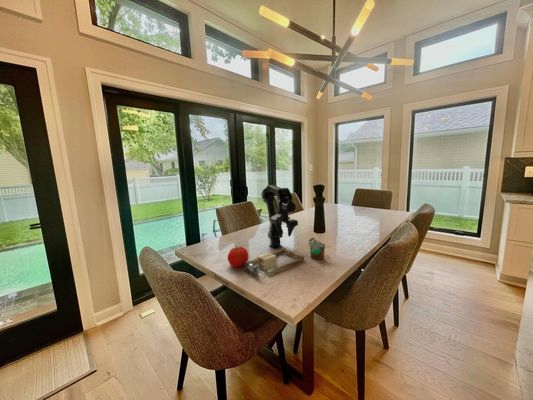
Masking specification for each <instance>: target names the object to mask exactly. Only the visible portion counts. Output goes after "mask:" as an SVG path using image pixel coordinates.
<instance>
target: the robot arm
mask: <svg viewBox="0 0 533 400" xmlns="http://www.w3.org/2000/svg"><path fill="white" fill-rule="evenodd" d="M275 197H277V201H278V202H277V203H278V204H277V205H278V210H276V209H275V204H274V201H275ZM261 198H262V201H263V202H264V203H265V204H266V207H267V213H268V217H269V222H270V226H269V228H268V229H269V230H268V233H267V237H268V239H269V240H270V244H269V245H268V247H270V248H273V249H278V248H282V247H283V245H282V244H281V239H282V238H283V236H284V235H283V234H284V231H283V228H282V225H283V223H284V224H285V225H286V226H285V227H286V228H287V235H288V237H291V235H292V233H293V231H294V229H295V227H297V226H298V225H299V221H298V220H296V219H294V218H293V219H291V217H290V216H289V214H290V213H293V212H295V210H296V209H297V208H296V207H297V206H296V204H295V203H294V202H293V196H292V193H291V190H290V189H289V188H288V187H279V186H277V185H275V184H268V185H266V187H264V188H263V189H262V192H261Z"/></svg>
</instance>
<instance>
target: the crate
mask: <svg viewBox="0 0 533 400" xmlns="http://www.w3.org/2000/svg"><path fill="white" fill-rule="evenodd" d="M272 253H273V252H266V253H263V254H260V255H257V258H258V264H257V265H258V266H260V268H259V269H261V270H263V272H264V271H268V270H267V269H270V268H272V267H275V268H276V267H277V256H276V255H274V254H272Z"/></svg>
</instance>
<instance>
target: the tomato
mask: <svg viewBox="0 0 533 400" xmlns="http://www.w3.org/2000/svg"><path fill="white" fill-rule="evenodd" d="M247 260H248V261H249V254H248V250H247V249H246V248H245V247H243V246H237V245H236V246H235V247H232V248H231V249H230V250H229V252H228V255H227V263H229V264H230V266H231V267H233V268H239V267H243V266H245V261H247Z"/></svg>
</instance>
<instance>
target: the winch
mask: <svg viewBox="0 0 533 400" xmlns="http://www.w3.org/2000/svg"><path fill="white" fill-rule="evenodd" d="M260 269H261V268H260V266H258V264H256V265H255V264H252V263H250V260H249V259H248V260H247V261H245V265H244V270H245V271H249V272H251V273H253V276H254V277H255V278H257V277H258V276H259V271H258V270H260Z"/></svg>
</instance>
